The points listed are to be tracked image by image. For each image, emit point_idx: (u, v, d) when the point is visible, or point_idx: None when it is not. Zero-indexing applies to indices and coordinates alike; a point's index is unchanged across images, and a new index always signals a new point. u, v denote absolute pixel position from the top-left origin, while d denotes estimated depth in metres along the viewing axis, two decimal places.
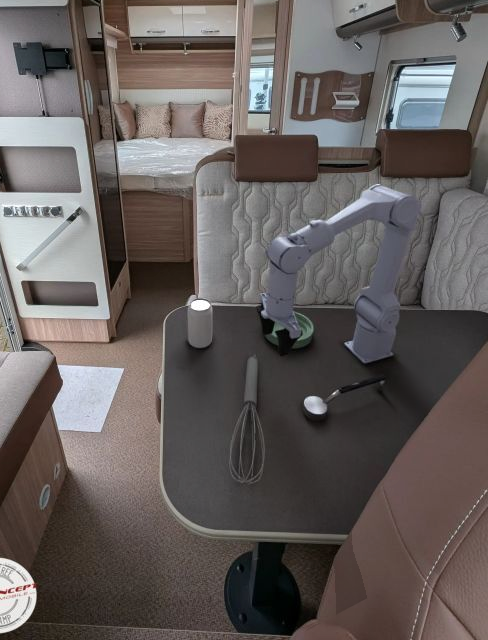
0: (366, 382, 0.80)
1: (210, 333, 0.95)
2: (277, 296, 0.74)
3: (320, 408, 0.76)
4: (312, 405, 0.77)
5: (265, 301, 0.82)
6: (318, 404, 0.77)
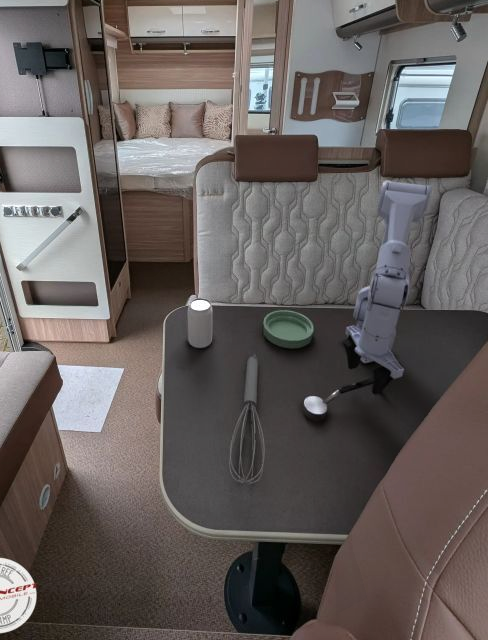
0: (366, 382, 0.80)
1: (210, 333, 0.95)
2: (388, 334, 0.70)
3: (320, 408, 0.76)
4: (312, 405, 0.77)
5: (354, 335, 0.79)
6: (318, 404, 0.77)
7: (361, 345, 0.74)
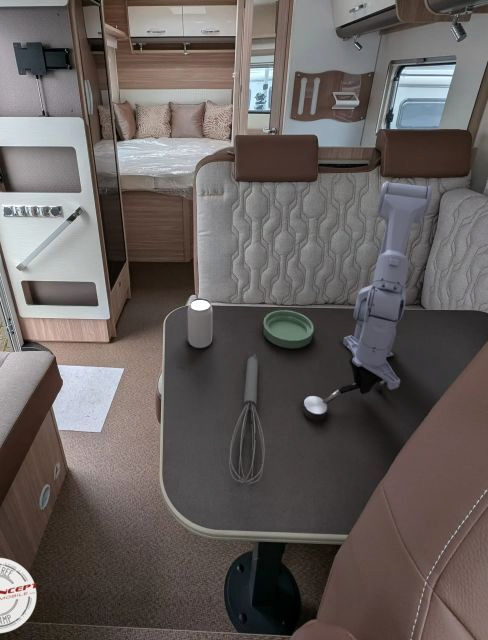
0: None
1: (210, 333, 0.95)
2: (385, 346, 0.72)
3: (320, 408, 0.76)
4: (312, 405, 0.77)
5: (352, 346, 0.80)
6: (318, 404, 0.77)
7: (358, 356, 0.76)
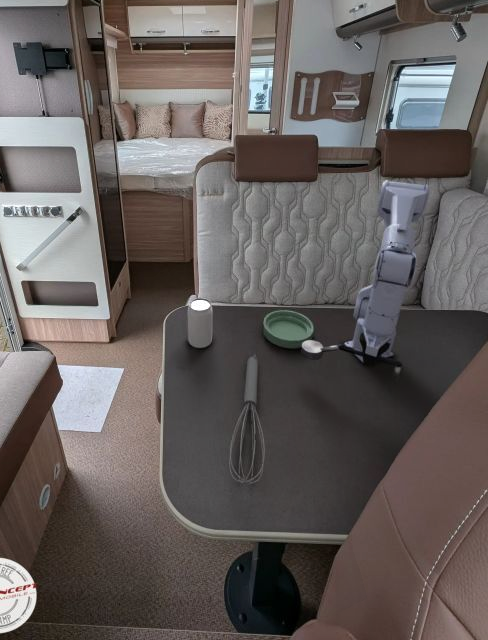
0: None
1: (210, 333, 0.95)
2: (395, 313, 0.68)
3: (313, 349, 0.82)
4: (309, 345, 0.83)
5: None
6: (315, 347, 0.82)
7: None
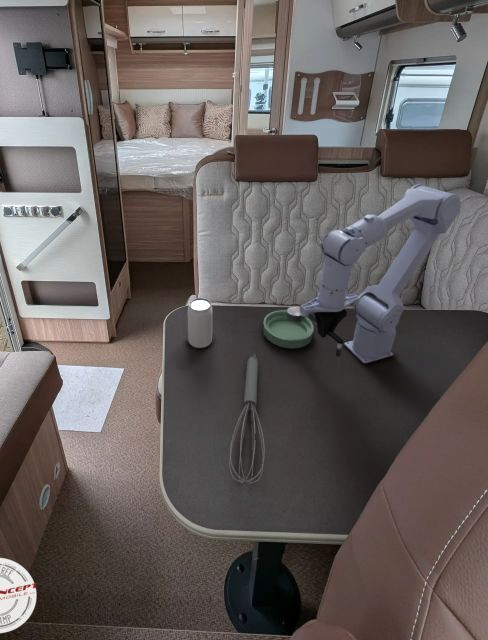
0: None
1: (210, 333, 0.95)
2: (333, 287, 0.77)
3: (293, 312, 0.95)
4: (294, 309, 0.97)
5: None
6: (297, 312, 0.95)
7: None
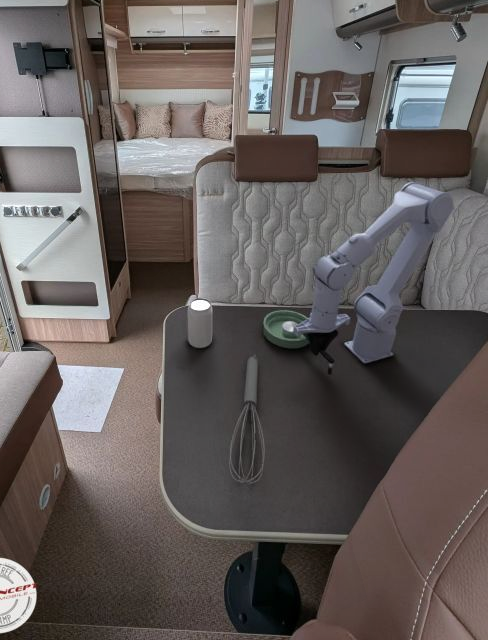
0: None
1: (210, 333, 0.95)
2: (323, 309, 0.81)
3: (288, 327, 0.99)
4: (290, 324, 1.01)
5: None
6: (291, 327, 0.99)
7: None
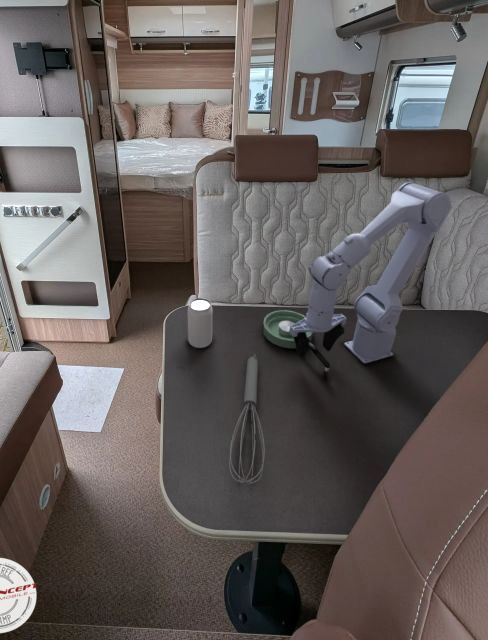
0: (314, 349, 0.89)
1: (210, 333, 0.95)
2: (318, 309, 0.81)
3: (285, 327, 0.99)
4: (286, 324, 1.01)
5: None
6: (288, 327, 1.00)
7: None
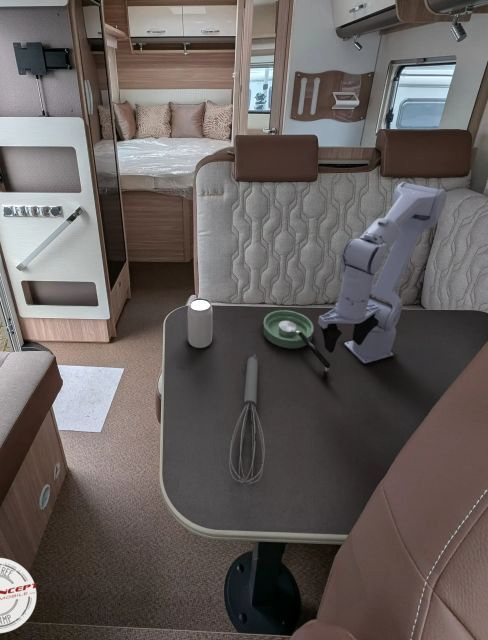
0: (314, 349, 0.89)
1: (210, 333, 0.95)
2: (359, 299, 0.72)
3: (285, 327, 0.99)
4: (286, 324, 1.01)
5: None
6: (288, 327, 1.00)
7: None
